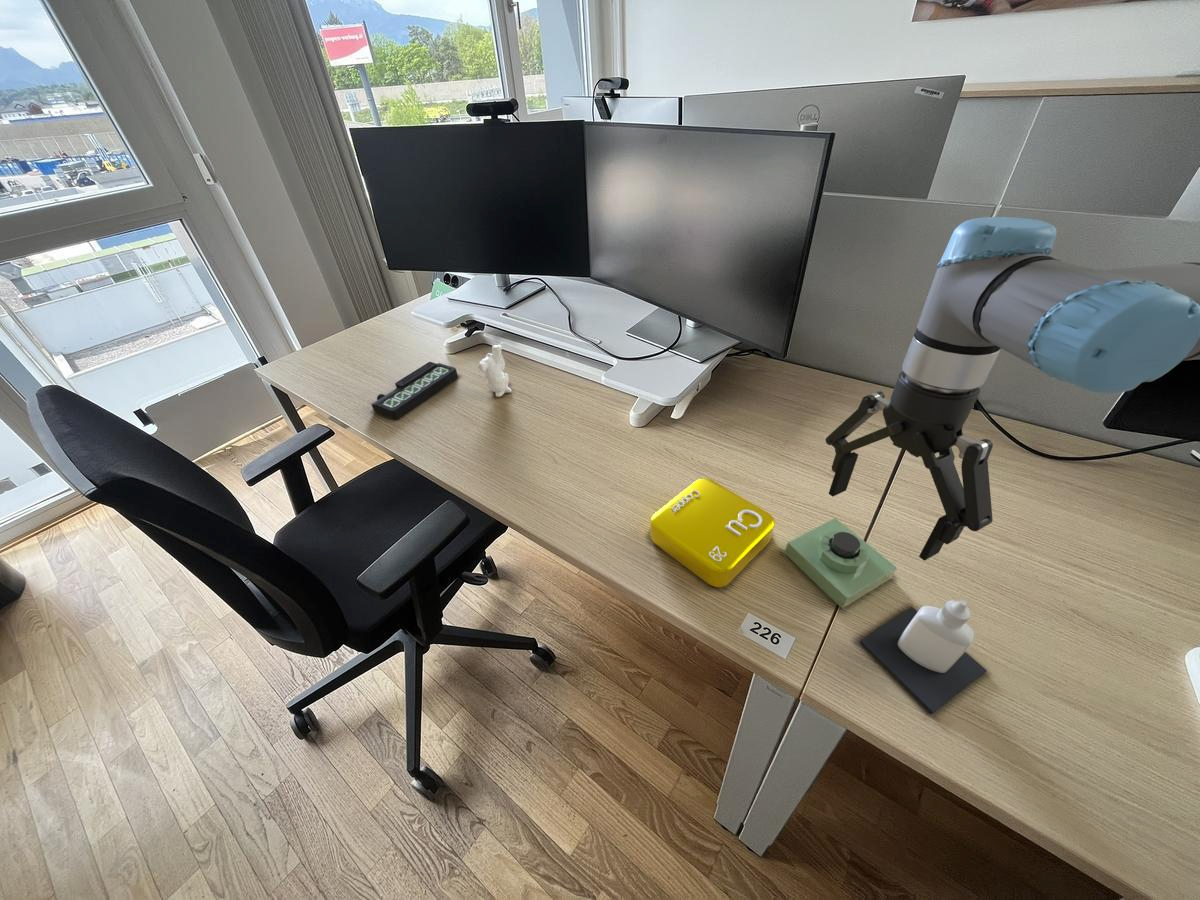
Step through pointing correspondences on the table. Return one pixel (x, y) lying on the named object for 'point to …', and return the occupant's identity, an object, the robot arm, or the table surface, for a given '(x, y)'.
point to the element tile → (711, 531)
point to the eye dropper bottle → (938, 635)
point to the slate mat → (919, 666)
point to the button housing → (839, 564)
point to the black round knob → (845, 545)
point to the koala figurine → (495, 371)
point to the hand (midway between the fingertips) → (879, 521)
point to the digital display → (414, 389)
